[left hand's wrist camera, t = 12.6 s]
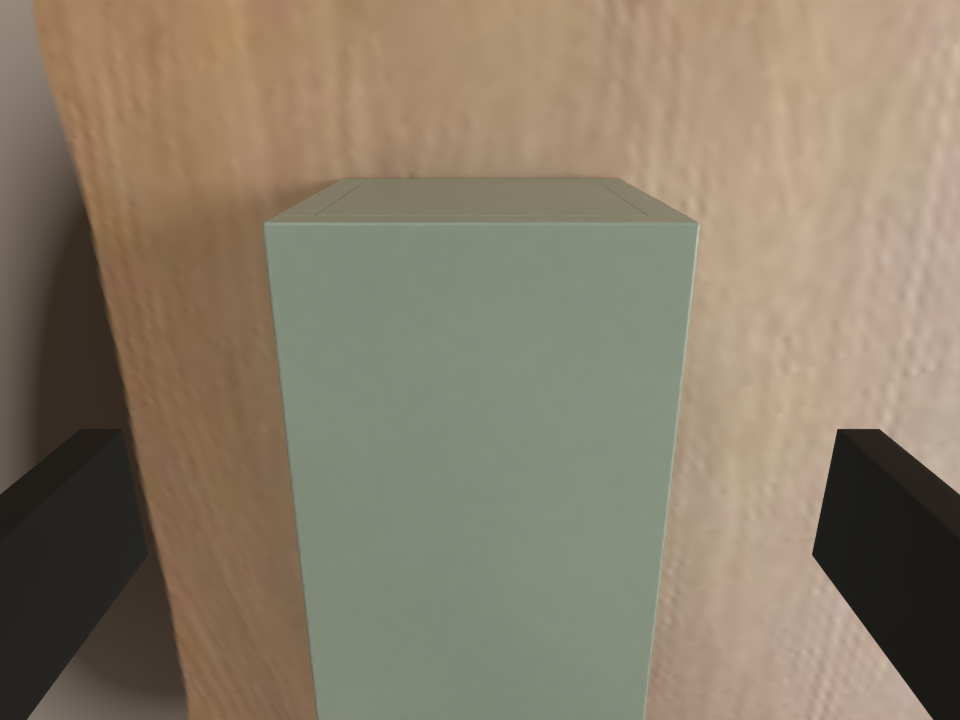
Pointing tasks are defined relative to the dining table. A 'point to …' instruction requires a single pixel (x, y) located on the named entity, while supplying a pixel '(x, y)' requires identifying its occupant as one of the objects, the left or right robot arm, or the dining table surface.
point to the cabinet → (481, 439)
